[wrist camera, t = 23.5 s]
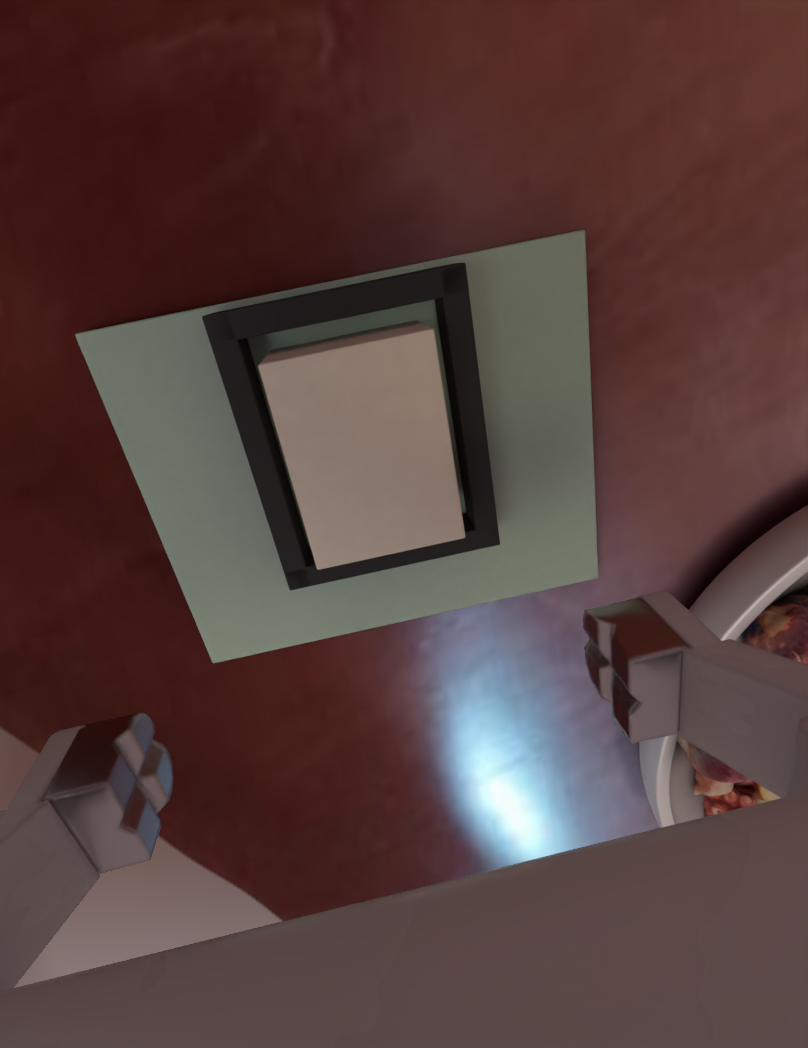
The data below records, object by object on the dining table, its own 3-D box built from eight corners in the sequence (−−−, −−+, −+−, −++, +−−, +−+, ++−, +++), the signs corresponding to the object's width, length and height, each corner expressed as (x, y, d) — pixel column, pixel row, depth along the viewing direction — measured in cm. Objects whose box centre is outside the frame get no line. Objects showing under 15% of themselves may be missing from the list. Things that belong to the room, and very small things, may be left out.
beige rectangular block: (319, 528, 25) (317, 570, 22) (270, 349, 22) (257, 364, 18) (447, 500, 25) (466, 538, 22) (418, 319, 22) (434, 328, 18)
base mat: (216, 651, 29) (203, 691, 26) (84, 331, 22) (48, 339, 19) (590, 569, 29) (617, 599, 26) (575, 230, 22) (609, 224, 20)
